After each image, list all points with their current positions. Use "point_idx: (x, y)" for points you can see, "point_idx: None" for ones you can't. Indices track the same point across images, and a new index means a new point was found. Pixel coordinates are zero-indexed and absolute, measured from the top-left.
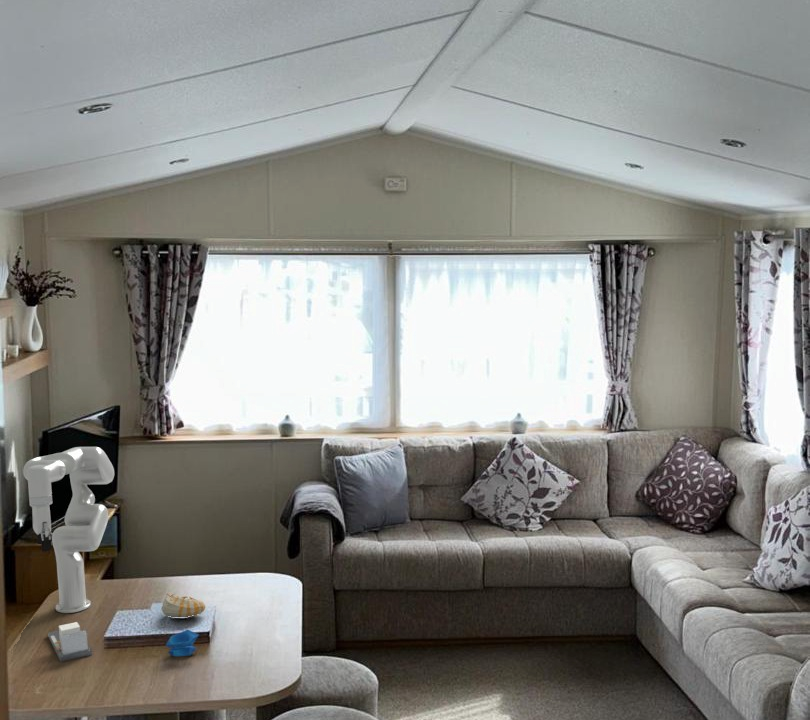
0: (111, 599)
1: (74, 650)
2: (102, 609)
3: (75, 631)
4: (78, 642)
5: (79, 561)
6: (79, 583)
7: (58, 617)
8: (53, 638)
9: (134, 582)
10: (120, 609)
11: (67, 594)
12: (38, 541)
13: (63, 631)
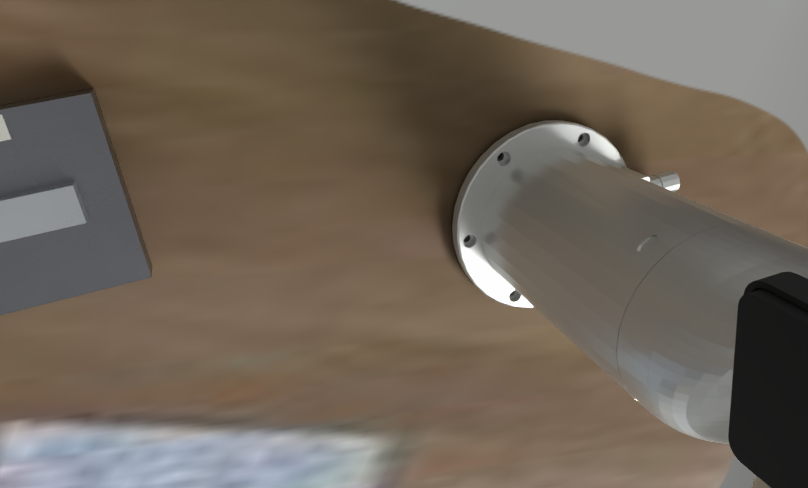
0: (550, 389)
1: None
2: (434, 364)
3: None
4: None
5: (683, 431)
6: (563, 332)
7: (421, 140)
8: None
9: (700, 457)
10: (394, 447)
11: (531, 230)
12: (797, 333)
13: None
